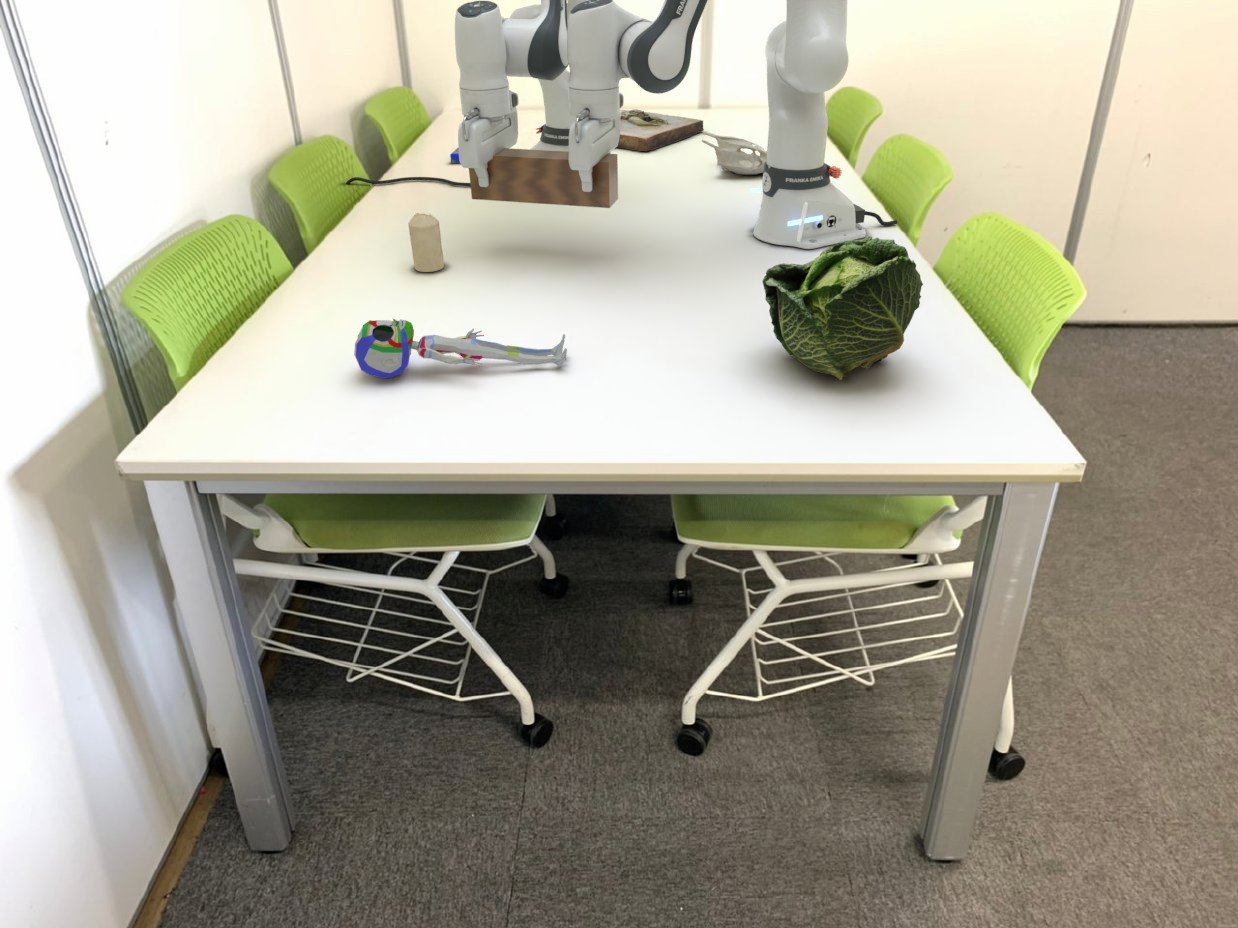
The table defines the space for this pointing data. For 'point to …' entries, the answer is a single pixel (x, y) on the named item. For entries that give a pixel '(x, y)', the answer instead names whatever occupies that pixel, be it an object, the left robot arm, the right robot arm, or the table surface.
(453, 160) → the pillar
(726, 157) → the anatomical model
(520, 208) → the table surface
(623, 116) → the plaque
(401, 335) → the toy
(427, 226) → the candle
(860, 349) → the vegetable
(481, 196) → the bar
